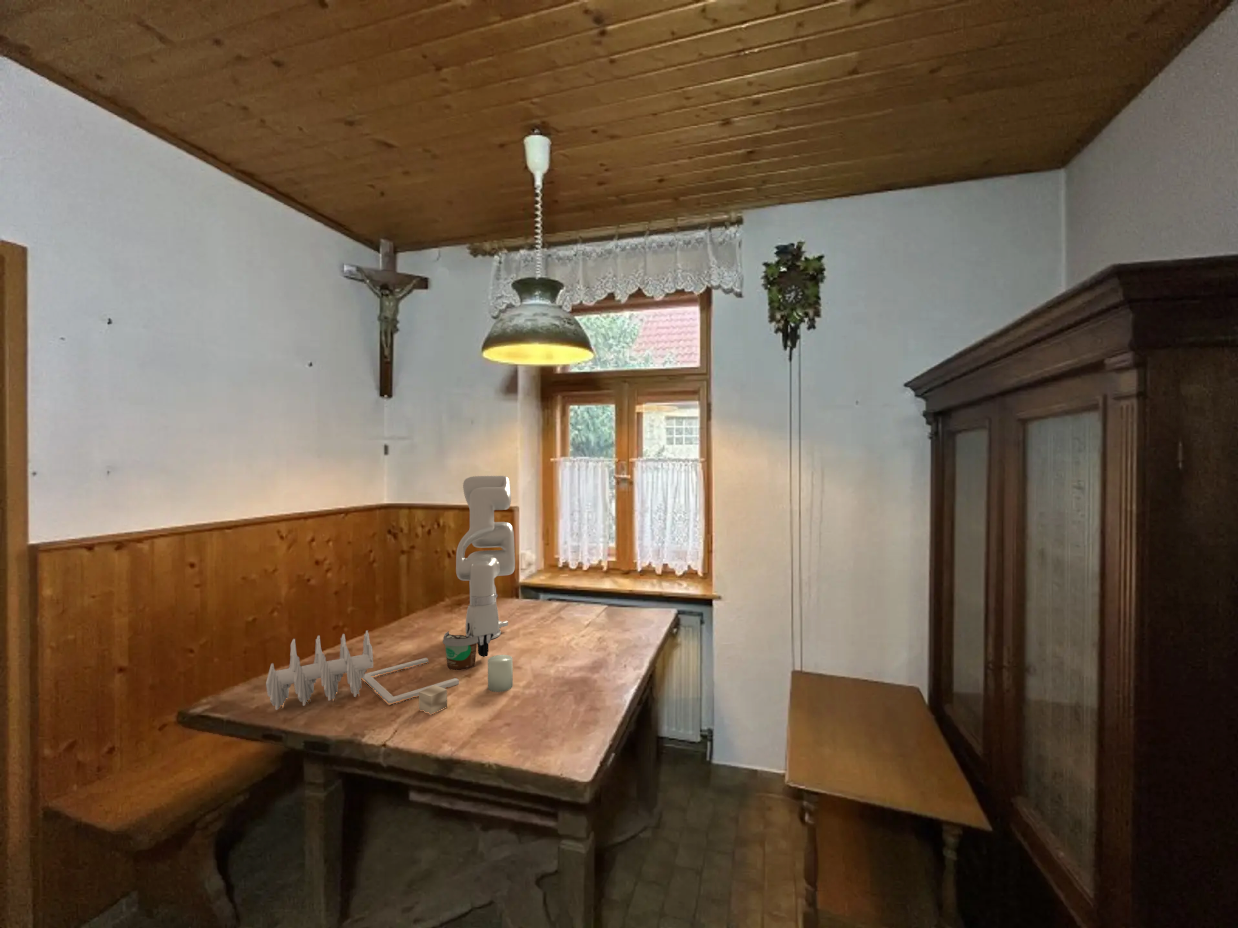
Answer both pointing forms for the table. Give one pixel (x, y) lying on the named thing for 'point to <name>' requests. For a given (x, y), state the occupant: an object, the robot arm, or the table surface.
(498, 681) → the pale green cylinder
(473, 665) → the food container
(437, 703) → the birch block
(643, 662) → the table surface
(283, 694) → the spiral staircase
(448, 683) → the corral
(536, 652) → the table surface
